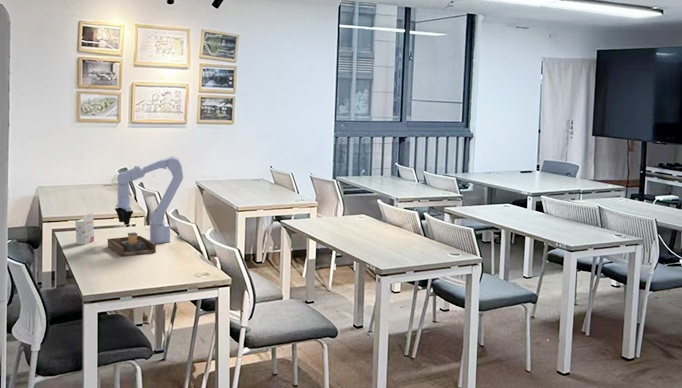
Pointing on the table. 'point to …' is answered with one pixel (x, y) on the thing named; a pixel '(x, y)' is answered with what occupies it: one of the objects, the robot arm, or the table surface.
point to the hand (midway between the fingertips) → (124, 223)
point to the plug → (132, 238)
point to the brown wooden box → (131, 246)
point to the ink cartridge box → (85, 230)
